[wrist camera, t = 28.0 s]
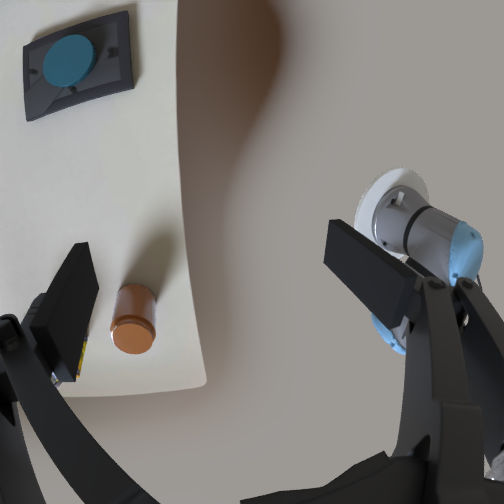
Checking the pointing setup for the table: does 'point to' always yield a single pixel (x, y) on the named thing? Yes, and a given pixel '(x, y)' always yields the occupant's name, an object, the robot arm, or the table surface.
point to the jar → (134, 319)
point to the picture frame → (99, 79)
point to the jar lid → (69, 61)
